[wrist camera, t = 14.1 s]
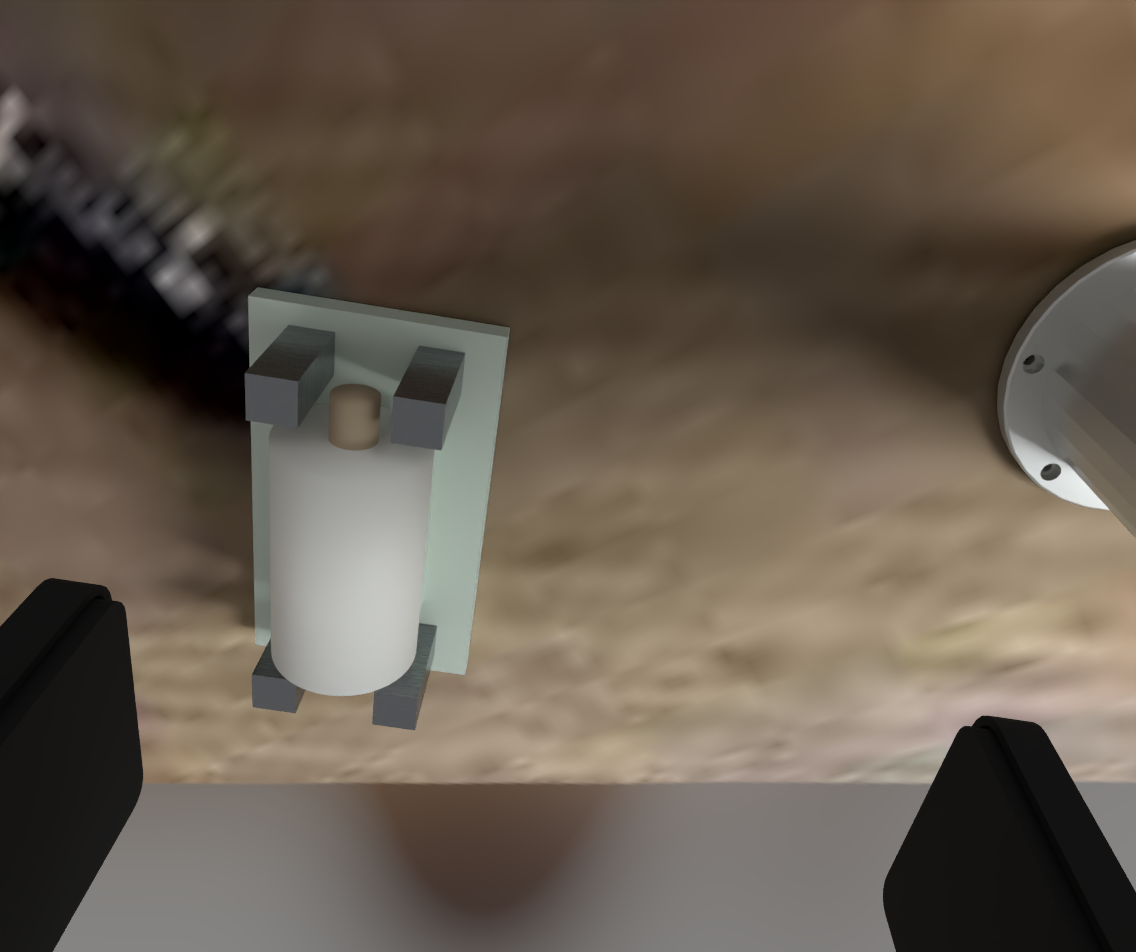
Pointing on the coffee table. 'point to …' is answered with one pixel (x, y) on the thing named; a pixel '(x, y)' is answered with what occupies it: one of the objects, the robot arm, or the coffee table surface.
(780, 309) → the coffee table surface
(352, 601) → the paper roll
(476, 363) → the roll holder
